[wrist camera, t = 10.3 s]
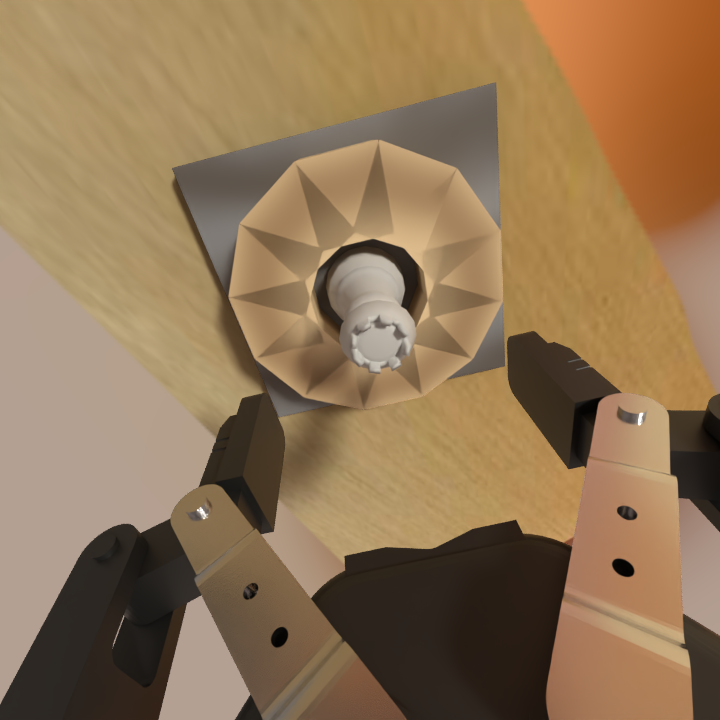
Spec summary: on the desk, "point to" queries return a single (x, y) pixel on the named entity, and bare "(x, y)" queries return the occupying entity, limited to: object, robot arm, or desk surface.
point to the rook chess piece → (371, 308)
